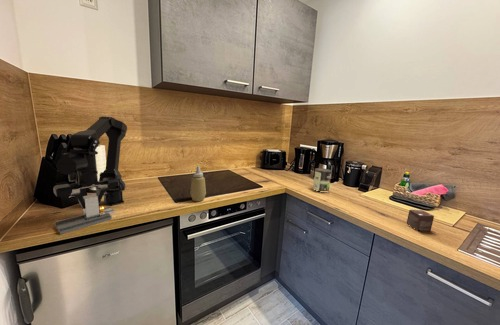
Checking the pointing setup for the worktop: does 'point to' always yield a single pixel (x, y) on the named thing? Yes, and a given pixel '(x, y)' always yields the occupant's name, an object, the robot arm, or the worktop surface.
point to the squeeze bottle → (198, 186)
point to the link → (94, 207)
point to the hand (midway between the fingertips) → (90, 206)
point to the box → (420, 220)
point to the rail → (80, 222)
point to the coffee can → (322, 179)
